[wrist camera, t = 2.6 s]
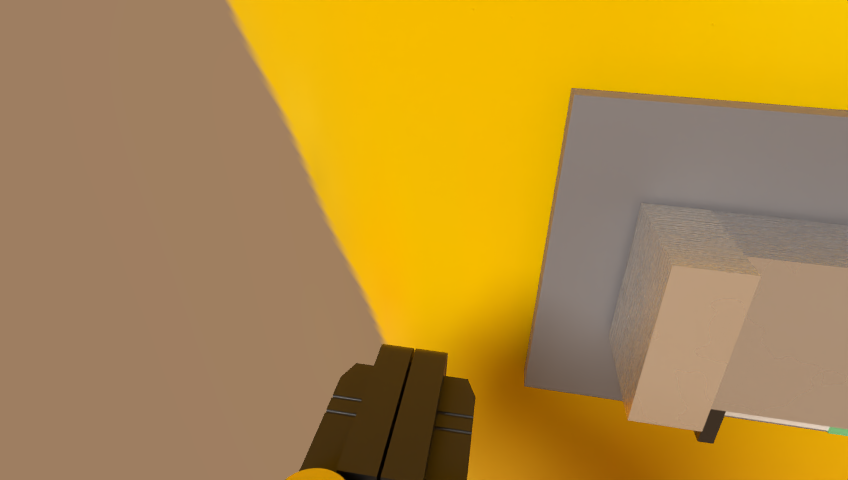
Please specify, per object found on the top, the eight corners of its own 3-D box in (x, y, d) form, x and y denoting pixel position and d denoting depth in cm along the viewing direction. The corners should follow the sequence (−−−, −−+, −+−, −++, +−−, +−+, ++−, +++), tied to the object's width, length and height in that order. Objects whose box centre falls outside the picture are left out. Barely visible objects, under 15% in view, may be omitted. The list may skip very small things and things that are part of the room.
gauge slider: (1008, 241, 15) (1151, 322, 12) (890, 439, 19) (974, 548, 15) (641, 202, 17) (672, 265, 13) (593, 395, 20) (608, 486, 17)
